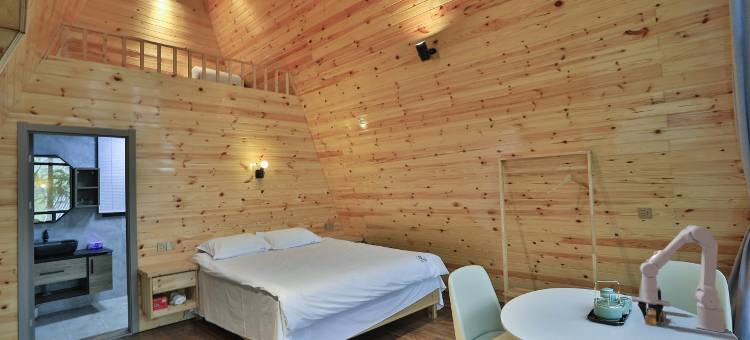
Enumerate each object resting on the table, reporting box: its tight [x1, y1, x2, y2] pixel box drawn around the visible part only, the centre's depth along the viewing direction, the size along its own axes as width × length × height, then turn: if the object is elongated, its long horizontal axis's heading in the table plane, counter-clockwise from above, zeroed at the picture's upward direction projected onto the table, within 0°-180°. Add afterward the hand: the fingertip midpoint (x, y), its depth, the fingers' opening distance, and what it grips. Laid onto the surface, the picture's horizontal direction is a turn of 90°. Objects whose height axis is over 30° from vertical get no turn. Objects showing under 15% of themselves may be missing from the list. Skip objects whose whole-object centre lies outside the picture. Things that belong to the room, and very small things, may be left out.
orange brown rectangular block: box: [644, 310, 662, 327], centre depth 190 cm, size 4×12×4 cm, turn 134°
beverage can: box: [647, 285, 662, 312], centre depth 204 cm, size 6×6×12 cm
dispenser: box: [646, 307, 667, 323], centre depth 194 cm, size 6×6×5 cm
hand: (651, 320), depth 187 cm, fingers closed on orange brown rectangular block, 4 cm apart
